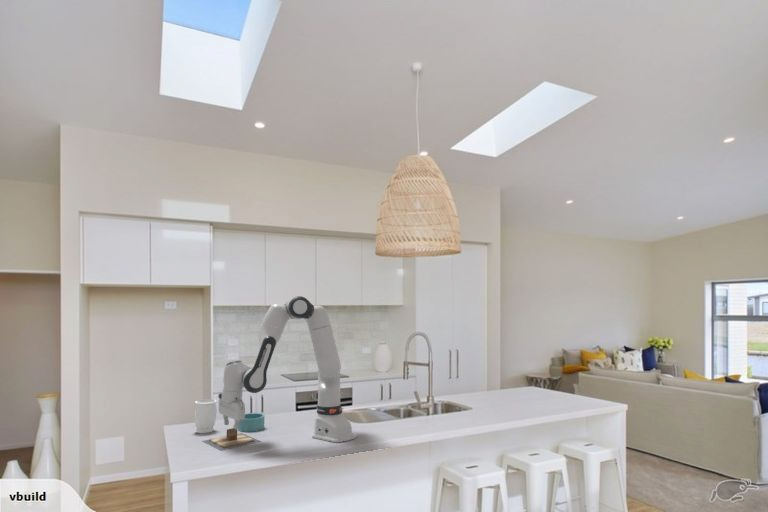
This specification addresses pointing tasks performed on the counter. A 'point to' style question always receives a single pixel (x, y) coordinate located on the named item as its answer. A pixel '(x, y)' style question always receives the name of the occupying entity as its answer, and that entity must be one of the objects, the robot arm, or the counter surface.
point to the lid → (231, 439)
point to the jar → (205, 415)
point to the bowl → (252, 422)
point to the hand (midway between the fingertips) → (231, 426)
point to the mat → (232, 446)
